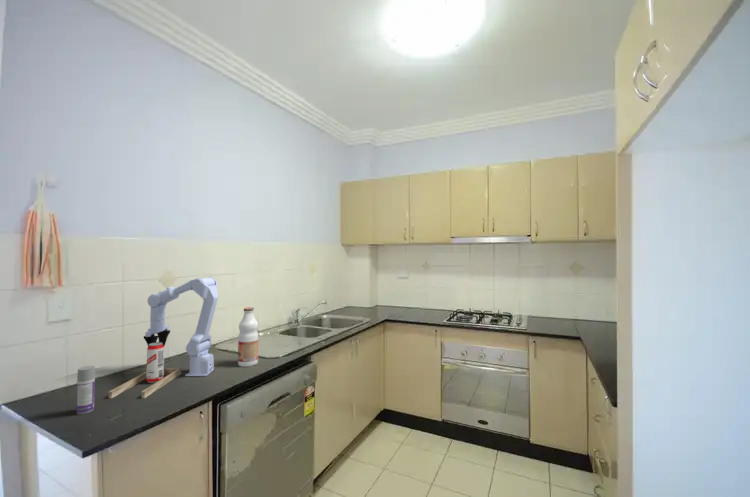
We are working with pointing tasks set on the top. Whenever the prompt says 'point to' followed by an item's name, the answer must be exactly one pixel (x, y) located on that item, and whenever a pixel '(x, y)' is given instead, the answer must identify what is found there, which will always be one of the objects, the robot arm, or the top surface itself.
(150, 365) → the beer can
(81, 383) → the container
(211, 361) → the robot arm
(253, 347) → the fruit juice
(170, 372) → the u rest
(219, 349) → the top surface
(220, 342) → the top surface
